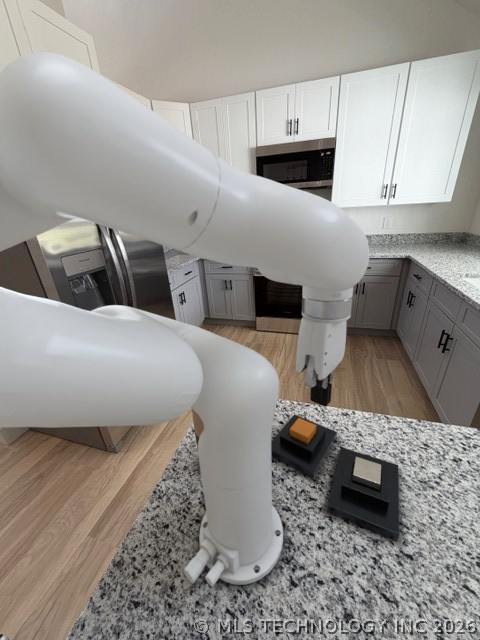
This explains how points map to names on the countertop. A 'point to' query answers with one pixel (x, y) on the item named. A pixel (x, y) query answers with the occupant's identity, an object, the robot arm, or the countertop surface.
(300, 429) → the amber key
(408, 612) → the countertop surface
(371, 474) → the white key
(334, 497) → the front keypad
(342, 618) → the countertop surface
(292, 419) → the rear keypad
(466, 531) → the countertop surface
